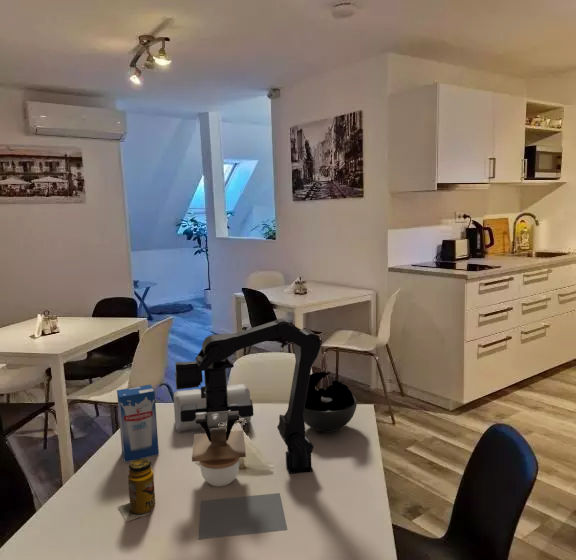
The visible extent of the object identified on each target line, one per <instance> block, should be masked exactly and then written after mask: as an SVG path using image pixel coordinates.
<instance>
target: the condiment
mask: <svg viewBox="0 0 576 560" xmlns="http://www.w3.org/2000/svg"><path fill="white" fill-rule="evenodd" d="M152 468H153V467H152V462H151V460H150V459H148V458H141V459H136V460H133V461H130V463H129V465H128V475H127V482H128V485H127V486H128V494H129V495H128V497H129V502H128V503H125V504H121V505H118V506H117V508H118V509H119V511H120V514H121V515H122V517H123V519H124V520H125V522H126V523H128V522H130V521H134V520H135V519H139V518H141V517H145V516H147V515H148V516H149V515H150V514H152V511H153V509H154V507H155V505H156V493H155V491H156V490H155V481H154V479H155V478H154V477H155V475H154V471H153V469H152Z"/></svg>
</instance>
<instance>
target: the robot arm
mask: <svg viewBox="0 0 576 560" xmlns="http://www.w3.org/2000/svg"><path fill="white" fill-rule="evenodd" d="M279 337H283V338H285V339H286V340H288V341H290V342H291V343H293V351H294V352H293V353H294V358H295V364H294V371H293V377H292V382H291V387H290V388H291V389H290V393H289V394H290V395H289V399H288V406H287V411H286V412H285V413H284V414H279V416H278V417H279V418H278V419H279V422H278V425H277V426H276V428H277V430H278V433H279V435H280V437H281V438H282V440H283V442H284V443H285V445H286V446H287V450H286V451H285V466H286V469H287V470H288V472H289V473H288V474H290V475H293V474H295V475H296V474H304V473H306V474H307V473H312V472H314V470H313V467H312V453H313V451H314V444H313V443H312V442H311V441H310V439H309V438H308V435H306V423H305V422H304V416H303V415H304V408H305V402H306V396H307V390H308V385H309V379H310V375H311V374H312V373H311V372H312V366H313V364H314V363H315V362H316V360H317V359H318V356H319V353H320V350H321V347H322V340H321V339H320V337H319V336H318V335H317V334H316V333H314V332H313V331H311V330H310V329H308V328H302V329H301V328H299V327H297V326H295V325H293V324H291V323H289V322H287V321H286V320H285V319H284V318H277V319H275V320H273V321H269V322H266V323H264V324H261V325H257V326H254V327H251V328H248V329H245V330H241V331H238V332H234V333H233V332H232V333H220V334H213V335H212V334H211V335H209V336H206V337H205V338H204V340H203V342H202V345H201V350H200V351H199V353H198V354H197V355H196V357H195V360H194V361H184V362H183V361H176V362H175V372H174V377H175V378H174V380H175V389H176V390H177V391H179V390H187V389H195V388H199V387H200V390H201V398H206V407H197V404H196V403H189V404H183V405H182V407H181V412H180V416H181V421H182V422H189V421H194V420H195V418H196V424H200V425H201V426H202V428H203V429H202V430H203V431H204V434H205V433H206V435H207V437H208V439H209V441H210V442H211V428H210V426H209V420H208V414H216V413H228V415H227V426H226V441H227V440H228V438H229V435H230V432H231V431H232V429H233V428H234V427H233V426H235V425H234V423H235V421H237V420H239V415H240V416H241V417H254V403H253V400H252V399H251V398H250V399H241V400H238V404H231V405H228V393H227V386H228V379H227V378H228V377H227V369H231V368H234V366H235V365H234V364H233V361H231V360H230V359H229V358H230V357H231V356H232V355H234V354H235V353H236V352H238V351H240V350H242V349H245V348H249V347H252V346H255V345H258V344H261V343H264V342H267V341H270V340H274V339H277V338H279ZM203 372H204V385H203V386H201V384H202V383H203Z"/></svg>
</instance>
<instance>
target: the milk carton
mask: <svg viewBox="0 0 576 560" xmlns="http://www.w3.org/2000/svg"><path fill="white" fill-rule="evenodd" d="M116 393H117V405H118V407H117V408H118V419H119V433H120V442H121V453H122V457H123V460H124V463H128V462H132V461H134V460H136V459H142V458H143V459H147V458H150V457H154V456H157V455H158V456H159V453H160V451H159V450H160V449H159V438H158V437H159V436H158V422H157V410H156V409H157V407H156V394H155V393H156V391H155V389H154V387H153V386H152V384H145V385H139V386H135V387H128V388H123V389H117V390H116Z"/></svg>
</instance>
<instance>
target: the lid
mask: <svg viewBox="0 0 576 560" xmlns="http://www.w3.org/2000/svg"><path fill="white" fill-rule="evenodd" d="M226 428H227V426H223V427H215V428H210V431H211V442H210V441H209V439H208V437H207V435H206V433H205V432H204V433H195V434H194V435H193V446H192V454H191V462H192V463H194V462H195V463H196V462H200V461H207V460H218V459H229V458H239V459H240V458H246V457H247V455H246V453H247V452H246V443H245V434H244V430H231V432H230V435H229V438H228V440H227V441H226Z"/></svg>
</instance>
